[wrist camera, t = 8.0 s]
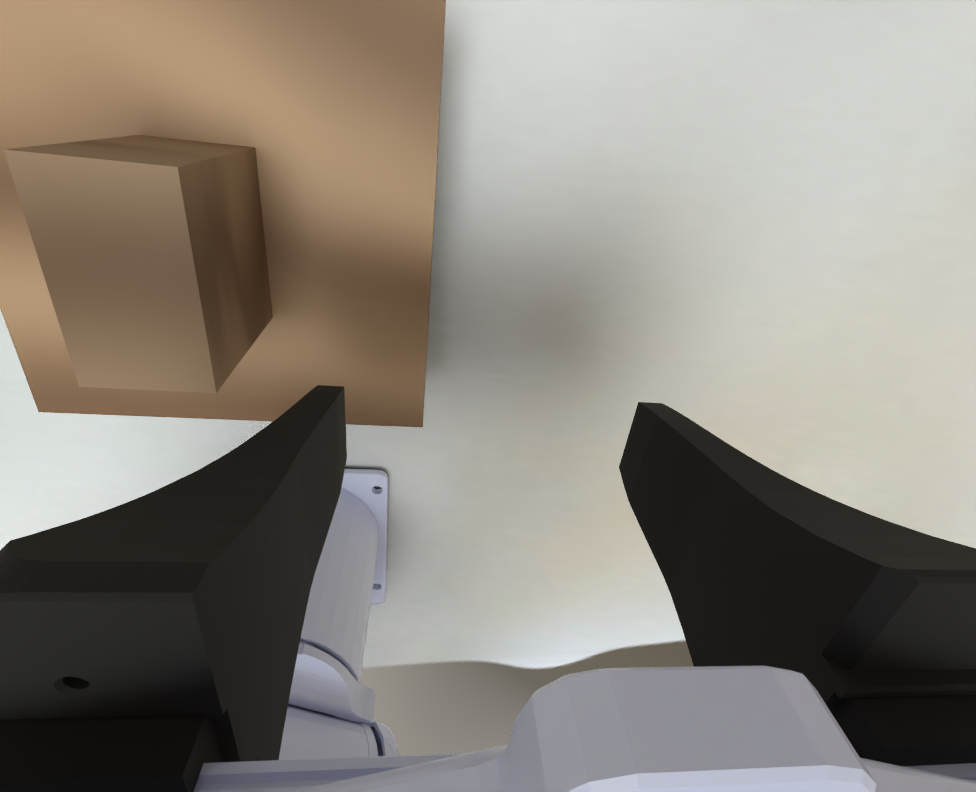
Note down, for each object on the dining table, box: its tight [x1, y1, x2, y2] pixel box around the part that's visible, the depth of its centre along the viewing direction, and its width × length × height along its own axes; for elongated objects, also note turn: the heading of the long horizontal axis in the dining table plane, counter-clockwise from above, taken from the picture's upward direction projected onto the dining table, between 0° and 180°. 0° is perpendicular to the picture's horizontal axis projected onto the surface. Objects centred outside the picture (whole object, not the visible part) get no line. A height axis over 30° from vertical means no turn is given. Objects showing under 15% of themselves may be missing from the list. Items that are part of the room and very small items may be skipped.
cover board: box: [0, 0, 446, 427], centre depth 13 cm, size 13×13×6 cm
